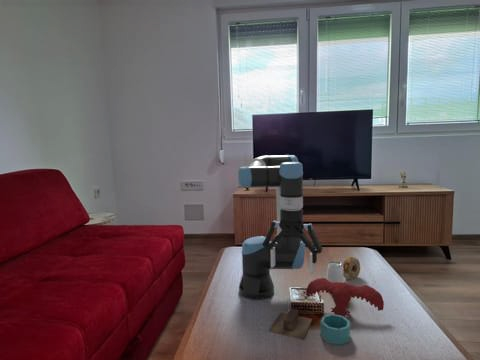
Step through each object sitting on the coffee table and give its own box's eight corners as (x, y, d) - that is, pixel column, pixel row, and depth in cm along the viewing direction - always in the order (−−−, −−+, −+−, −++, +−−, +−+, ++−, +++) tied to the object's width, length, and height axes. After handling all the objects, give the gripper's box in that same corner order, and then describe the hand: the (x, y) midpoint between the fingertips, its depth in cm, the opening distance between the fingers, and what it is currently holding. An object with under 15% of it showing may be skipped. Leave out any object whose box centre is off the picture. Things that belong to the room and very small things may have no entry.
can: (343, 294, 133) (344, 267, 131) (327, 293, 134) (328, 266, 132) (342, 287, 139) (342, 261, 137) (326, 286, 140) (327, 260, 139)
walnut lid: (269, 332, 109) (269, 319, 109) (280, 315, 120) (280, 303, 120) (303, 341, 104) (303, 327, 104) (312, 322, 115) (312, 309, 114)
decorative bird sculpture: (382, 333, 113) (384, 291, 121) (382, 327, 106) (384, 283, 114) (304, 316, 126) (310, 279, 133) (299, 309, 119) (306, 271, 126)
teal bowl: (318, 340, 104) (318, 325, 103) (324, 325, 112) (324, 312, 111) (347, 347, 100) (347, 332, 99) (350, 331, 108) (351, 317, 107)
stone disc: (347, 283, 143) (348, 261, 142) (340, 280, 146) (341, 259, 145) (361, 276, 149) (362, 256, 148) (354, 274, 152) (355, 254, 151)
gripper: (252, 208, 109) (254, 267, 111) (327, 213, 98) (327, 279, 101) (260, 204, 115) (261, 260, 118) (331, 208, 105) (330, 270, 108)
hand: (291, 269), depth 110 cm, fingers open, 13 cm apart
